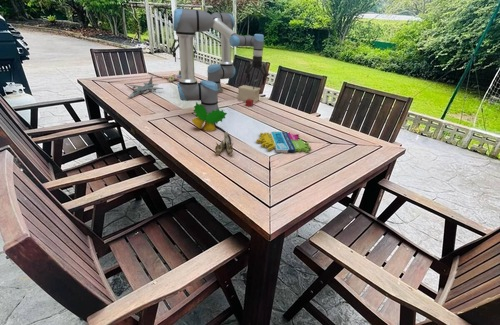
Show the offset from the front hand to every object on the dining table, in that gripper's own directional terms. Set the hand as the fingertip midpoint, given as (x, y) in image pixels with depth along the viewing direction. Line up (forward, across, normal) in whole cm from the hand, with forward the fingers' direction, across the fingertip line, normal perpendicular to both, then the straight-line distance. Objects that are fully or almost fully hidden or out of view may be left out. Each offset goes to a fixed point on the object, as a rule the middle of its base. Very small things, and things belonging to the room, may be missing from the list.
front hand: (184, 61), depth 211 cm
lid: (+18, -52, +16) cm, 57 cm away
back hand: (+13, -56, +19) cm, 61 cm away
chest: (+28, -52, +15) cm, 61 cm away
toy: (+28, +6, -65) cm, 71 cm away
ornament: (+28, -10, +76) cm, 81 cm away
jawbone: (+28, -13, +108) cm, 112 cm away
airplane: (+28, +35, -13) cm, 46 cm away
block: (+28, -48, +30) cm, 63 cm away
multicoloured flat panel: (+28, -48, +102) cm, 117 cm away
